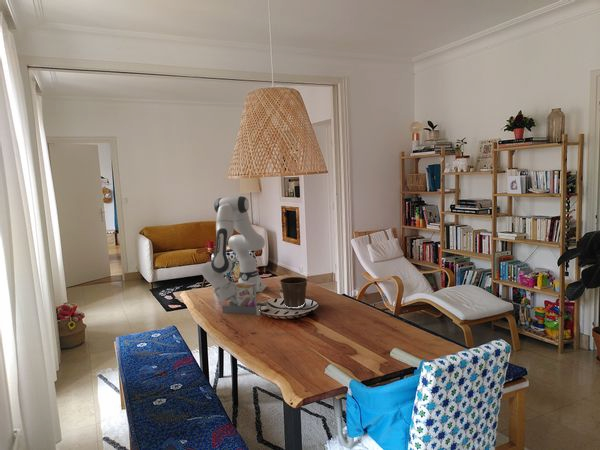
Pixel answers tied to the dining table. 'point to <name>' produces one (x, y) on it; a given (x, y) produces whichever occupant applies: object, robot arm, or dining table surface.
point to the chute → (243, 308)
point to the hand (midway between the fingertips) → (237, 302)
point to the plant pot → (294, 291)
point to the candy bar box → (246, 294)
